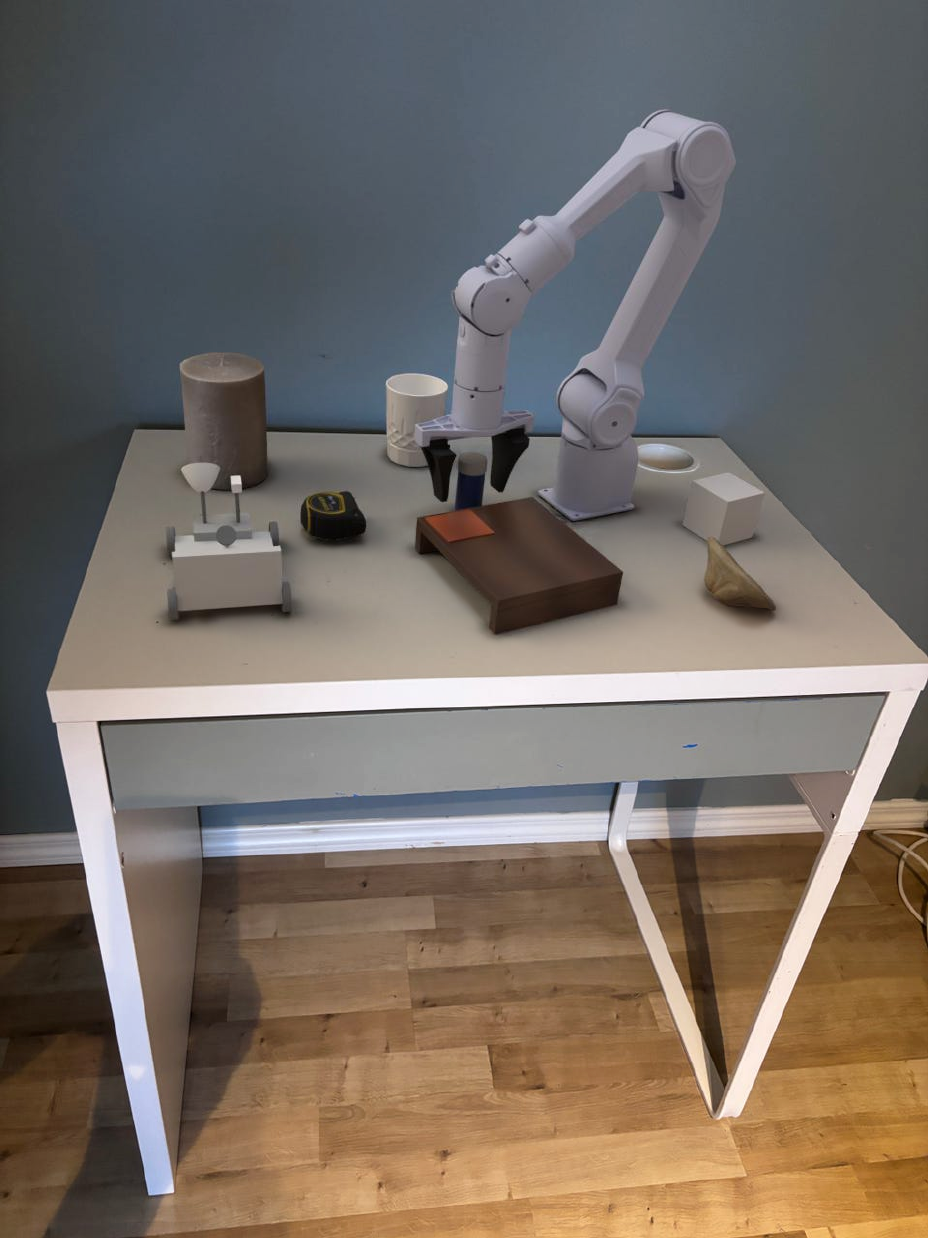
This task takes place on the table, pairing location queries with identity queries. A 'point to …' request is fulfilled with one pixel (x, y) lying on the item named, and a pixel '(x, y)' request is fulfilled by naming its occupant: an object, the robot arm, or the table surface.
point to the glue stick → (470, 480)
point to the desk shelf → (522, 561)
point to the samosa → (732, 580)
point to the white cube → (723, 508)
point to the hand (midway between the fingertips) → (469, 493)
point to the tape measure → (332, 516)
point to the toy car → (224, 556)
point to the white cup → (411, 414)
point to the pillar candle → (226, 415)
